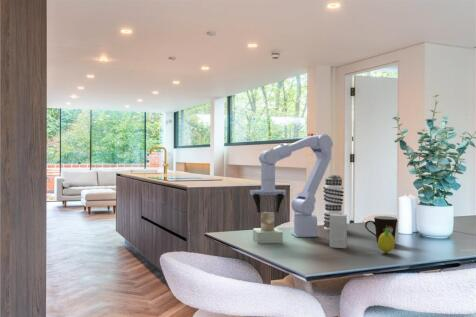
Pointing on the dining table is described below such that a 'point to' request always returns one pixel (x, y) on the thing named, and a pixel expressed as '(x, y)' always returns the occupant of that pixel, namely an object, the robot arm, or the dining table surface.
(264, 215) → the maple block
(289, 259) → the dining table surface
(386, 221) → the coffee mug
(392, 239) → the lemon
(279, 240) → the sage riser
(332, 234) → the skincare box
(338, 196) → the decorative candle
